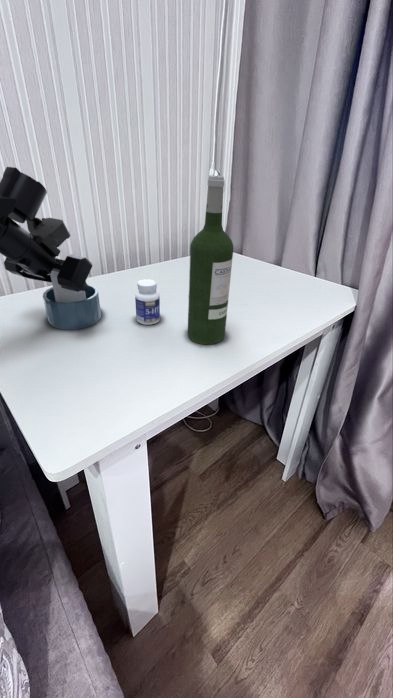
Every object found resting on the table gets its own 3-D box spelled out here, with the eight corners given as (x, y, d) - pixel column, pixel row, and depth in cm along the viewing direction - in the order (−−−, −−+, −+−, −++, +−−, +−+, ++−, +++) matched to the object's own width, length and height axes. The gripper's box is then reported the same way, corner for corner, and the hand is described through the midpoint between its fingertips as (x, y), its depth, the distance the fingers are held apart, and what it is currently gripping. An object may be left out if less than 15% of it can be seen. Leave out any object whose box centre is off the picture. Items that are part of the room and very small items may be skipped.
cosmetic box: (88, 310, 76) (80, 258, 70) (88, 318, 73) (80, 265, 67) (60, 312, 75) (50, 259, 69) (58, 320, 72) (48, 266, 65)
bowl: (68, 335, 68) (63, 308, 65) (38, 318, 73) (32, 293, 70) (111, 316, 76) (108, 292, 72) (80, 302, 81) (77, 279, 78)
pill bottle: (147, 327, 72) (145, 289, 67) (131, 319, 75) (129, 282, 70) (164, 319, 75) (164, 282, 70) (149, 312, 78) (147, 276, 73)
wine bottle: (220, 348, 66) (236, 180, 50) (182, 341, 68) (186, 177, 51) (227, 329, 73) (243, 176, 56) (193, 324, 74) (199, 173, 58)
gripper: (77, 211, 55) (123, 260, 69) (1, 199, 62) (58, 245, 76) (48, 270, 53) (102, 308, 68) (-26, 251, 60) (37, 288, 74)
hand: (74, 285), depth 71 cm, fingers closed on cosmetic box, 7 cm apart
